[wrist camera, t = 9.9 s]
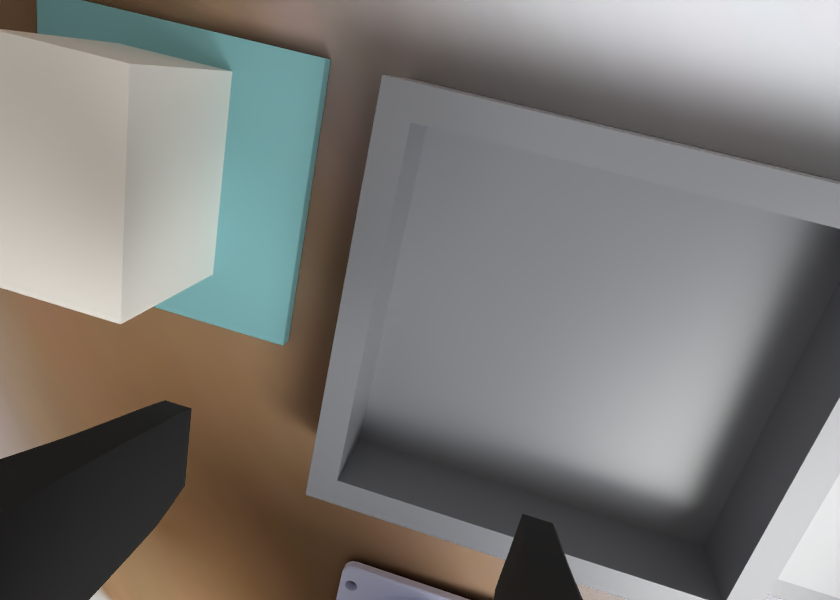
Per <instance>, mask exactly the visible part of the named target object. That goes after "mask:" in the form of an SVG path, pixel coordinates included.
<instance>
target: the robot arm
mask: <svg viewBox="0 0 840 600" xmlns="http://www.w3.org/2000/svg"><path fill="white" fill-rule="evenodd" d="M190 419H191V408H188V407H185V406H181V405H178V404H175V403H172V402H169V401H166V400H165V401H162V402H159V403H156V404H153V405H150V406H148V407H145V408H142V409H139V410H137V411H134V412H132V413H129V414H126V415H124V416H121V417H119V418H116V419H113V420H111V421H108V422H105V423H103V424H100V425H98V426H95V427H92V428H90V429H87V430H84V431H82V432H79V433H76V434H74V435H71V436H68V437H65V438H63V439H60V440H57V441H54V442H51V443H48V444H45V445H42V446H39V447H36V448H33V449H30V450H27V451H24V452H21V453H18V454H15V455H12V456H9V457H6V458H2V459H0V600H89V599H90V598H91V597H92V596H93V595H94V594H95V593H96V592H97V591H98V590H99V588H100V587H101V586H102V585H103V584H104V583H105V582H106V581H107V580H108V579H109V578H110V576H111V575H112V574H113V573H114V572H115V571H116V570H117V569H118V568H119V567H120V566H121V564H122V563H123V562H124V561H125V560H126V559H127V558H128V557H129V556H130V555H131V554H132V552H133V551H134V550H135V549H136V548H137V547H138V546H139V545H140V544H141V542H142V541H143V540H144V539H145V538H146V537H147V536H148V535H149V534H150V532H151V531H152V530H153V529H154V528H155V527H156V525H157V524H158V523H159V521H160V520H161V519H162V517H163V516H164V515H165V513H166V512H167V510H168V509H169V508H170V506H171V505H172V503H173V502H174V500H175V499H176V497H177V496H178V495H179V493H180V492H181V490H182V489H183V487H184V486H185V476H186V465H187V453H188V442H189V431H190ZM350 581H353V582H355V583H356V584H355V583H352V582H350ZM336 600H469V599H466V598H464V597H461V596H458V595H455V594H452V593H449V592H446V591H443V590H440V589H437V588H434V587H431V586H428V585H425V584H422V583H419V582H416V581H413V580H410V579H407V578H404V577H401V576H398V575H395V574H392V573H389V572H386V571H383V570H380V569H377V568H374V567H371V566H368V565H365V564H363V563H360V562H355V561H351V562H348V563H347V564H346V565H345V567H344V569H343V571H342V575H341V580H340V584H339V588H338V593H337V597H336ZM494 600H583V599H582V597H581V594H580V592H579V590H578V587H577V585H576V582H575V580H574V577H573V575H572V572H571V569H570V567H569V564H568V562H567V559H566V556H565V554H564V551H563V548H562V545H561V542H560V539H559V537H558V534H557V531H556V528H555V527H554V525H553V523H551V522H547V521H544V520H541V519H538V518H535V517H532V516H528V515H525V514H522V516H521V519H520V522H519V525H518V527H517V530H516V533H515V536H514V539H513V541H512V544H511V547H510V550H509V553H508V555H507V558H506V561H505V564H504V567H503V569H502V572H501V575H500V578H499V581H498V583H497V586H496V589H495V595H494Z"/></svg>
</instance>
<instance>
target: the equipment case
mask: <svg viewBox="0 0 840 600" xmlns="http://www.w3.org/2000/svg"><path fill="white" fill-rule="evenodd" d="M305 495H308V496H311V497H314V498H317V499H320V500H323V501H326V502H329V503H332V504H335V505H338V506H342V507H345V508H348V509H351V510H354V511H357V512H360V513H363V514H366V515H369V516H372V517H375V518H378V519H381V520H384V521H387V522H390V523H394V524H397V525H400V526H403V527H406V528H409V529H412V530H415V531H418V532H421V533H424V534H427V535H430V536H433V537H436V538H439V539H443V540H446V541H449V542H452V543H455V544H458V545H461V546H464V547H467V548H470V549H473V550H476V551H479V552H482V553H485V554H488V555H491V556H495V557H498V558H501V559H504V560H506V558H507V555H508V553H509V550H510V547H511V544H512V541H513V539H514V536H515V533H516V530H517V527H518V525H519V522H520V519H521V516H522V514H525V515H528V516H532V517H535V518H538V519H541V520H544V521H547V522H551V523H553V525H554V527H555V528H556V531H557V534H558V537H559V539H560V542H561V545H562V548H563V551H564V554H565V556H566V559H567V562H568V564H569V567H570V569H571V572H572V575H573V577H574V580H575V582H576V583H577V584H580V585H583V586H586V587H589V588H592V589H595V590H599V591H602V592H605V593H608V594H611V595H614V596H617V597H620V598H623V599H626V600H765V599H766V598H767V596H768V595H769V596H773V597H776V598H779V599H782V600H840V181H836V180H832V179H828V178H824V177H819V176H815V175H811V174H807V173H803V172H798V171H794V170H790V169H786V168H782V167H778V166H773V165H769V164H765V163H761V162H757V161H753V160H748V159H744V158H740V157H736V156H732V155H727V154H723V153H719V152H715V151H711V150H707V149H702V148H698V147H694V146H690V145H686V144H682V143H677V142H673V141H669V140H665V139H661V138H656V137H652V136H648V135H644V134H640V133H636V132H631V131H627V130H623V129H619V128H615V127H611V126H606V125H602V124H598V123H594V122H590V121H585V120H581V119H577V118H573V117H569V116H565V115H560V114H556V113H552V112H548V111H544V110H540V109H535V108H531V107H527V106H523V105H519V104H514V103H510V102H506V101H502V100H498V99H494V98H489V97H485V96H481V95H477V94H473V93H469V92H464V91H460V90H456V89H452V88H448V87H443V86H439V85H435V84H431V83H427V82H423V81H418V80H414V79H410V78H405V77H397V76H389V75H382V78H381V84H380V89H379V95H378V100H377V106H376V111H375V117H374V122H373V128H372V133H371V139H370V144H369V150H368V155H367V160H366V166H365V171H364V177H363V182H362V188H361V193H360V199H359V204H358V210H357V215H356V221H355V226H354V232H353V237H352V243H351V248H350V254H349V259H348V264H347V270H346V275H345V281H344V286H343V292H342V297H341V303H340V308H339V314H338V319H337V325H336V330H335V336H334V341H333V347H332V352H331V357H330V363H329V368H328V374H327V379H326V385H325V390H324V396H323V401H322V407H321V412H320V418H319V423H318V429H317V434H316V440H315V445H314V451H313V456H312V461H311V467H310V472H309V478H308V483H307V489H306V494H305Z"/></svg>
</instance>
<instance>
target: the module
mask: <svg viewBox="0 0 840 600" xmlns="http://www.w3.org/2000/svg"><path fill="white" fill-rule="evenodd" d="M231 80H232V71H229V70H225V69H221V68H217V67H213V66H209V65H205V64H201V63H197V62H193V61H189V60H184V59H180V58H176V57H172V56H168V55H164V54H160V53H156V52H152V51H148V50H144V49H140V48H136V47H132V46H128V45H124V44H120V43H113V42H104V41H96V40H88V39H79V38H71V37H63V36H55V35H46V34H38V33H30V32H21V31H13V30H5V29H0V288H3V289H6V290H10V291H13V292H16V293H20V294H23V295H26V296H29V297H33V298H36V299H39V300H42V301H46V302H49V303H52V304H56V305H59V306H62V307H65V308H69V309H72V310H75V311H79V312H82V313H85V314H88V315H92V316H95V317H98V318H101V319H105V320H108V321H111V322H115V323H118V324H122V323H124V322H126V321H128V320H130V319H131V318H133V317H135V316H137V315H139V314H141V313H142V312H144V311H146V310H148V309H150V308H152V307H154V306H155V305H157V304H159V303H161V302H163V301H165V300H166V299H168V298H170V297H172V296H174V295H176V294H178V293H179V292H181V291H183V290H185V289H187V288H189V287H191V286H192V285H194V284H196V283H198V282H200V281H202V280H203V279H205V278H207V277H209V276H211V275H213V269H214V259H215V248H216V238H217V227H218V217H219V206H220V196H221V185H222V175H223V164H224V154H225V143H226V133H227V122H228V112H229V101H230V91H231Z"/></svg>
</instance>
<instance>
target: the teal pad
mask: <svg viewBox="0 0 840 600" xmlns="http://www.w3.org/2000/svg"><path fill="white" fill-rule="evenodd" d="M37 33H38V34H46V35H55V36H63V37H71V38H79V39H88V40H96V41H104V42H113V43H120V44H124V45H128V46H132V47H136V48H140V49H144V50H148V51H152V52H156V53H160V54H164V55H168V56H172V57H176V58H180V59H184V60H189V61H193V62H197V63H201V64H205V65H209V66H213V67H217V68H221V69H225V70H229V71H232V80H231V91H230V101H229V112H228V122H227V133H226V143H225V154H224V164H223V175H222V185H221V196H220V206H219V217H218V227H217V238H216V248H215V259H214V269H213V275H211V276H209V277H207V278H205V279H203V280H202V281H200V282H198V283H196V284H194V285H192V286H191V287H189V288H187V289H185V290H183V291H181V292H179V293H178V294H176V295H174V296H172V297H170V298H168V299H166V300H165V301H163V302H161V303H159V304H157V305H155V306H154V307H156V308H159V309H162V310H166V311H169V312H172V313H176V314H179V315H182V316H186V317H189V318H192V319H196V320H199V321H202V322H206V323H209V324H212V325H216V326H219V327H223V328H226V329H229V330H233V331H236V332H239V333H243V334H246V335H249V336H253V337H256V338H259V339H263V340H266V341H269V342H273V343H276V344H279V345H284V344H285V343H286V342H287V341H288V340H289V334H290V328H291V321H292V314H293V308H294V301H295V295H296V288H297V281H298V275H299V268H300V262H301V255H302V248H303V242H304V235H305V229H306V222H307V215H308V209H309V202H310V196H311V189H312V182H313V176H314V169H315V162H316V156H317V149H318V143H319V136H320V129H321V123H322V116H323V110H324V103H325V96H326V90H327V83H328V77H329V70H330V63H331V59H326V58H322V57H318V56H314V55H310V54H306V53H301V52H297V51H293V50H289V49H285V48H281V47H276V46H272V45H268V44H264V43H260V42H255V41H251V40H247V39H243V38H239V37H235V36H230V35H226V34H222V33H218V32H214V31H210V30H205V29H201V28H197V27H193V26H189V25H184V24H180V23H176V22H172V21H168V20H164V19H159V18H155V17H151V16H147V15H143V14H139V13H134V12H130V11H126V10H122V9H118V8H113V7H109V6H105V5H101V4H97V3H93V2H88V1H84V0H37Z"/></svg>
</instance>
